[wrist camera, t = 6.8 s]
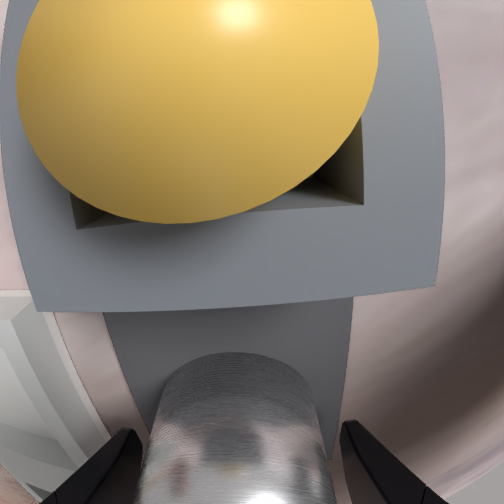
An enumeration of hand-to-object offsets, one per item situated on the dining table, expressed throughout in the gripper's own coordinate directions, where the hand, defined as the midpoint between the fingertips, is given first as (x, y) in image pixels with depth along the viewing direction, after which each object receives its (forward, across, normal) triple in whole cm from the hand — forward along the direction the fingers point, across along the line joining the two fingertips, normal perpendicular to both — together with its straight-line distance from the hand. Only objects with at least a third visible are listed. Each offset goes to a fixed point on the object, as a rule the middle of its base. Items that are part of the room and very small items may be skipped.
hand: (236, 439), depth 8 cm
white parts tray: (+2, +10, +5) cm, 11 cm away
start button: (0, 0, -9) cm, 9 cm away
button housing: (+2, 0, -9) cm, 9 cm away
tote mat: (+2, 0, 0) cm, 2 cm away
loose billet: (+1, 0, 0) cm, 1 cm away
